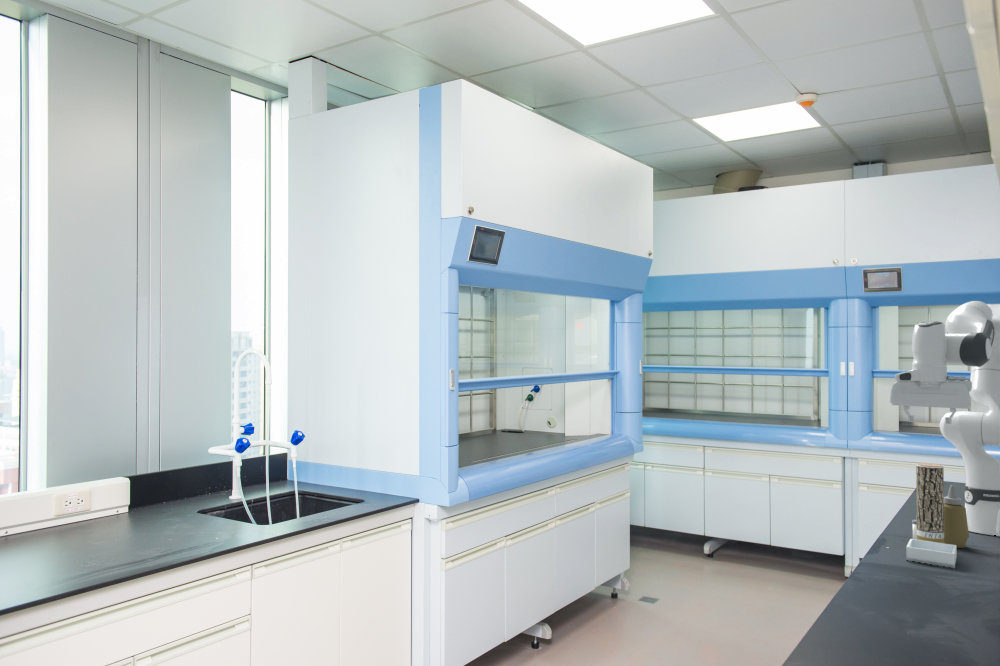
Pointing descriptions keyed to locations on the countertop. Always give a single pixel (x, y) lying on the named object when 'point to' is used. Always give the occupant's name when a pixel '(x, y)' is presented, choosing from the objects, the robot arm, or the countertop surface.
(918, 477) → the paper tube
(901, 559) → the countertop surface
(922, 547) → the tray
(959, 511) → the squeeze bottle
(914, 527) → the sample vial
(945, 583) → the countertop surface
